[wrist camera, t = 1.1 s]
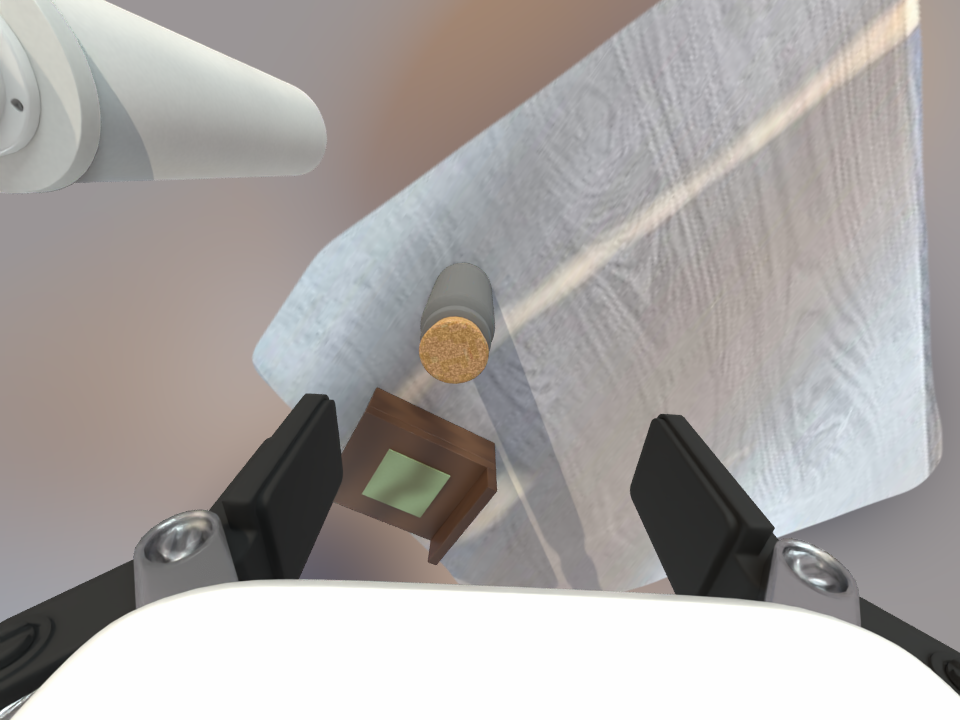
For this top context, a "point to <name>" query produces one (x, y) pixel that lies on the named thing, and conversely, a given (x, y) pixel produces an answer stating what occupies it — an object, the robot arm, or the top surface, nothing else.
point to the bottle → (457, 324)
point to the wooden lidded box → (416, 472)
